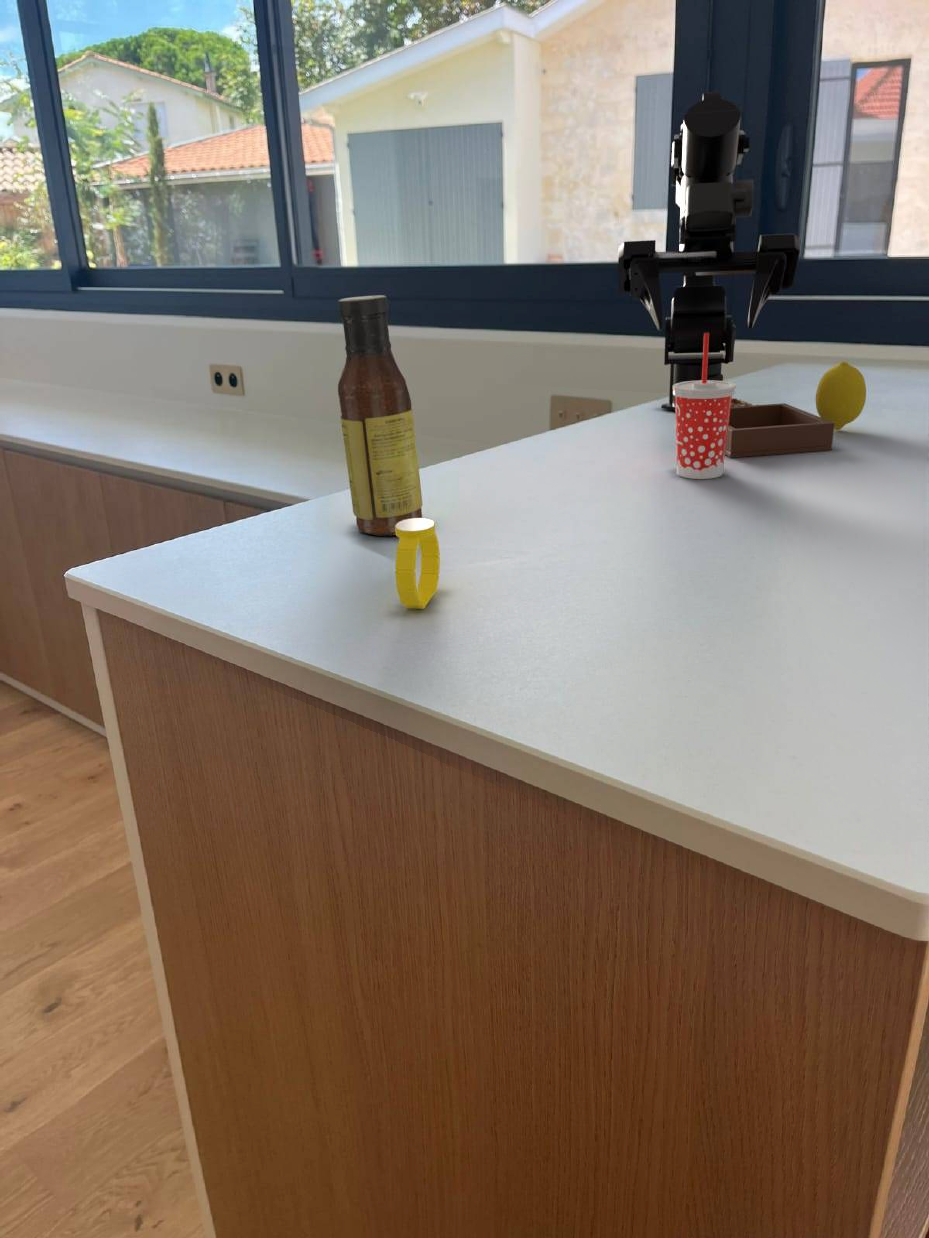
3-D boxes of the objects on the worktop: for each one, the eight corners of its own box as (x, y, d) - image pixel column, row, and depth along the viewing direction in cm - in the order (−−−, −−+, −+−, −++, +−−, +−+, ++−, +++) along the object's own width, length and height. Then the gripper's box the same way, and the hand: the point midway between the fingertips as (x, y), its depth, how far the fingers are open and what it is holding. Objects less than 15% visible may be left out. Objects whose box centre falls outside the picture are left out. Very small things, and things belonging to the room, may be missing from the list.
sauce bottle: (433, 519, 87) (419, 292, 79) (408, 540, 82) (389, 299, 74) (369, 516, 89) (348, 294, 81) (339, 536, 84) (315, 301, 76)
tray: (691, 434, 115) (692, 409, 114) (783, 427, 116) (785, 403, 115) (730, 458, 103) (732, 430, 102) (831, 450, 104) (834, 423, 103)
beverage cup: (683, 463, 102) (689, 328, 96) (739, 469, 98) (748, 330, 93) (659, 477, 97) (664, 336, 92) (716, 483, 94) (725, 337, 88)
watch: (415, 586, 71) (410, 510, 69) (450, 588, 71) (446, 511, 68) (389, 616, 66) (381, 535, 64) (426, 619, 65) (421, 536, 63)
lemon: (869, 434, 111) (877, 364, 107) (821, 436, 111) (828, 366, 108) (852, 424, 116) (859, 357, 113) (806, 426, 116) (812, 359, 113)
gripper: (620, 160, 100) (614, 276, 94) (805, 148, 96) (810, 269, 91) (622, 238, 110) (616, 348, 104) (789, 230, 106) (793, 343, 101)
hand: (705, 327), depth 100 cm, fingers open, 9 cm apart
